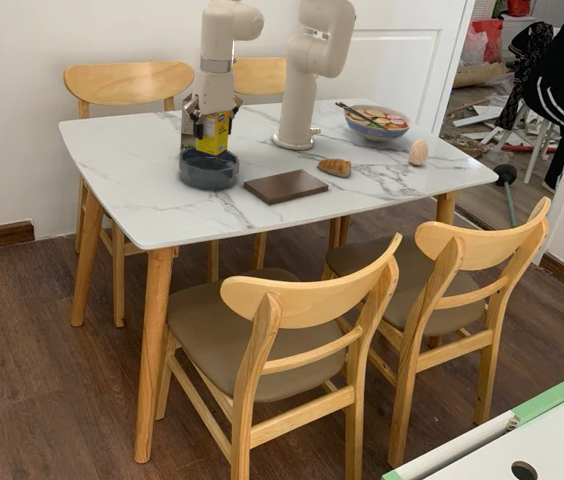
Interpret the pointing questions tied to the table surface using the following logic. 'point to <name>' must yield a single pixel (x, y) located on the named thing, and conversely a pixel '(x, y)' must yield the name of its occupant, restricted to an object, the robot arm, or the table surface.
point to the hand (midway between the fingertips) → (212, 135)
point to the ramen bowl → (376, 121)
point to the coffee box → (187, 128)
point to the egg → (418, 152)
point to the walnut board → (285, 186)
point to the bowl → (208, 179)
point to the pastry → (335, 167)
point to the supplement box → (214, 134)
